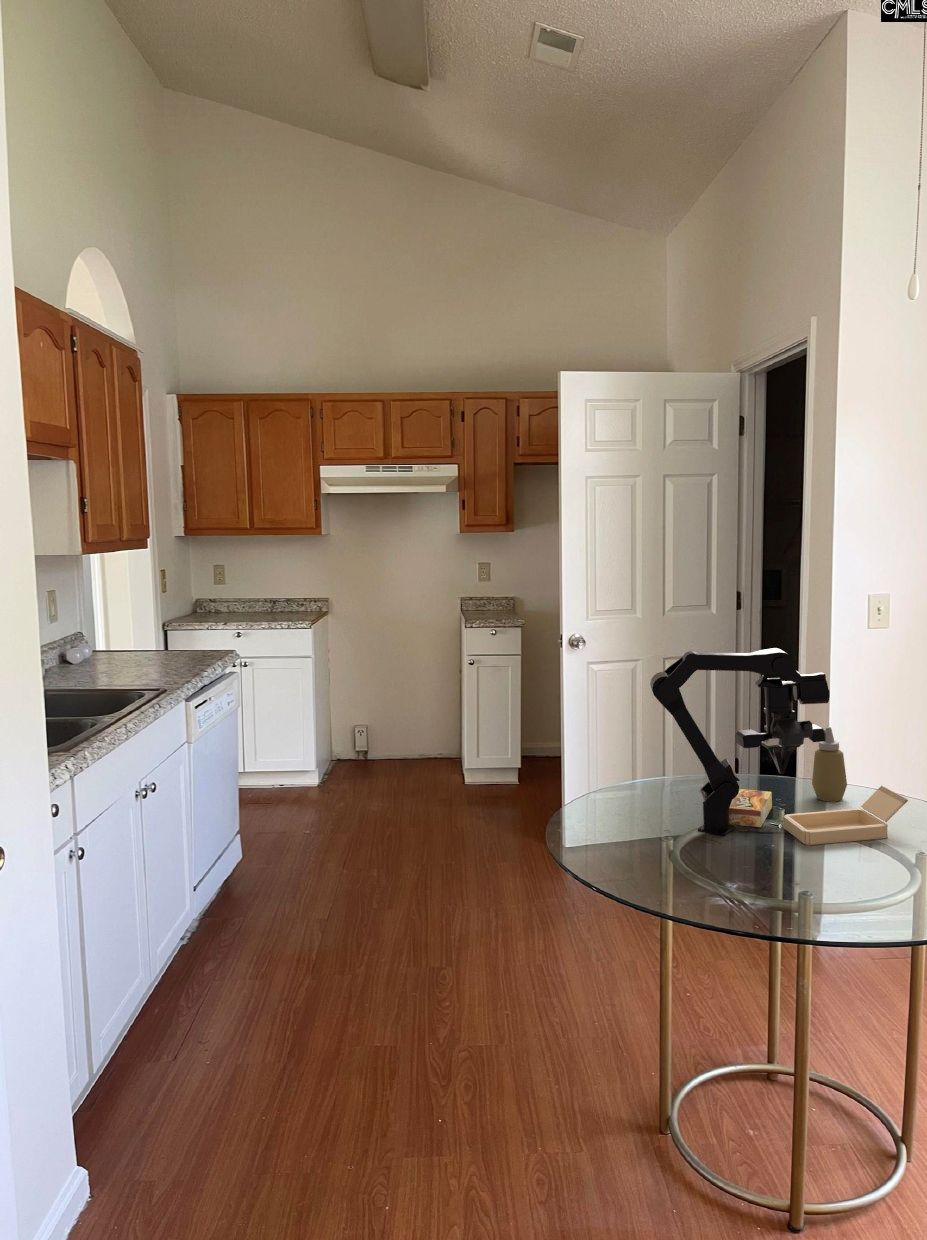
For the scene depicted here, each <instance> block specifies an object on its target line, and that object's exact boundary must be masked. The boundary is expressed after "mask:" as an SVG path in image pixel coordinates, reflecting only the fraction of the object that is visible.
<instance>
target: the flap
mask: <svg viewBox="0 0 927 1240" xmlns="http://www.w3.org/2000/svg"><path fill="white" fill-rule="evenodd" d="M907 802H909V800H908V799H907V798H906V797H904V796H902V795H901V794H899V793H897V792H895V791H893V790H891V789H888V788H887V787H886V786H883V785H880V786H879V787H878V788H877V790H875V792H873V794H871V796H870V797H868V799H867V800H866V801H864V803H862V805H861V806H860V807H861V809H862V810H864V811H866V812H867V813H869V814H871V815H872V816H874V817H876V818H877V819H879V820H881V821H882V822H884V823H888V822H889V821H890V820H891V818H892V817H894V815H895V814H896V813H898V812H899V810H900V809H901V808H903V806H904V805H906V804H907Z"/></svg>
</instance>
